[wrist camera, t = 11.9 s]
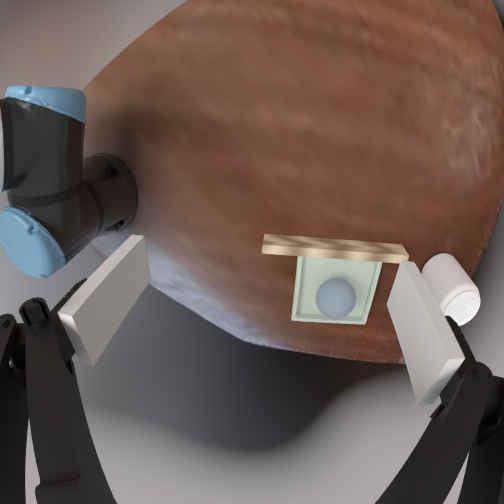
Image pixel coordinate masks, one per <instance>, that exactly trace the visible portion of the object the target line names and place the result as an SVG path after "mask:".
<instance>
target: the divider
mask: <svg viewBox="0 0 504 504" xmlns="http://www.w3.org/2000/svg"><path fill="white" fill-rule="evenodd" d="M262 253H264V254H277V255H291V256H305V257H319V258H333V259H346V260H360V261H374V262H388V263H400V262H401V261H408V258H409V255H408V253H407V252H406V250H405V248H404V247H403V245H400V244H389V243H377V242H365V241H353V240H341V239H328V238H315V237H301V236H287V235H273V234H265V235H264V239H263V244H262Z"/></svg>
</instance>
